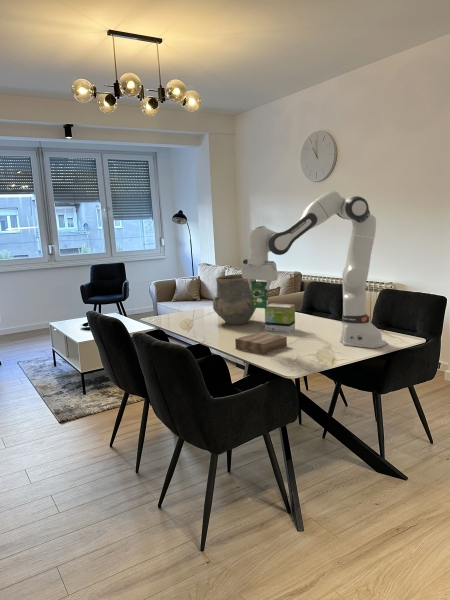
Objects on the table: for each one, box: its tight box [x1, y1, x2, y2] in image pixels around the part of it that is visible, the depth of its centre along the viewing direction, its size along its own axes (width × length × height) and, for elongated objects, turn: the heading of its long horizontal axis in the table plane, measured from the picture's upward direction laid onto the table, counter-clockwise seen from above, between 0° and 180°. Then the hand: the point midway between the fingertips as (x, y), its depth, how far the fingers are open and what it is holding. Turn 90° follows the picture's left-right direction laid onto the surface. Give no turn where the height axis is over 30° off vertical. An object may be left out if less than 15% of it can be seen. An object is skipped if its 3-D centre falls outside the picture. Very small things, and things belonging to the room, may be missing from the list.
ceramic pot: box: [212, 273, 257, 326], centre depth 286 cm, size 28×28×30 cm
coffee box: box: [251, 280, 269, 309], centre depth 222 cm, size 8×3×13 cm, turn 65°
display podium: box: [234, 331, 288, 355], centre depth 226 cm, size 18×18×5 cm
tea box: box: [264, 302, 296, 334], centre depth 261 cm, size 15×10×15 cm
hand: (259, 289), depth 221 cm, fingers closed on coffee box, 8 cm apart
